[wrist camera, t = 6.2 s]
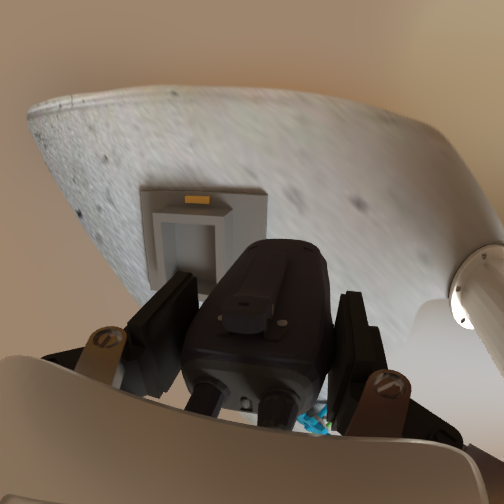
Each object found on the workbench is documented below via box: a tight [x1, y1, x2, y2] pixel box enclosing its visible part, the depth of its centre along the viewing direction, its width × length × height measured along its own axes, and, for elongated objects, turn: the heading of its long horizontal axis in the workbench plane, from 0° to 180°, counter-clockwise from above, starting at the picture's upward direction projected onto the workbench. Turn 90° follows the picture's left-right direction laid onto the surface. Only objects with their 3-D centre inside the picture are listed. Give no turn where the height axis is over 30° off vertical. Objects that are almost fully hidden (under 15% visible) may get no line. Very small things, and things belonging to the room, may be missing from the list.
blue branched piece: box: [297, 404, 332, 435], centre depth 42 cm, size 11×6×10 cm
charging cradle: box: [140, 190, 268, 302], centre depth 35 cm, size 16×14×4 cm
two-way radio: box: [180, 239, 334, 431], centre depth 10 cm, size 6×4×15 cm
